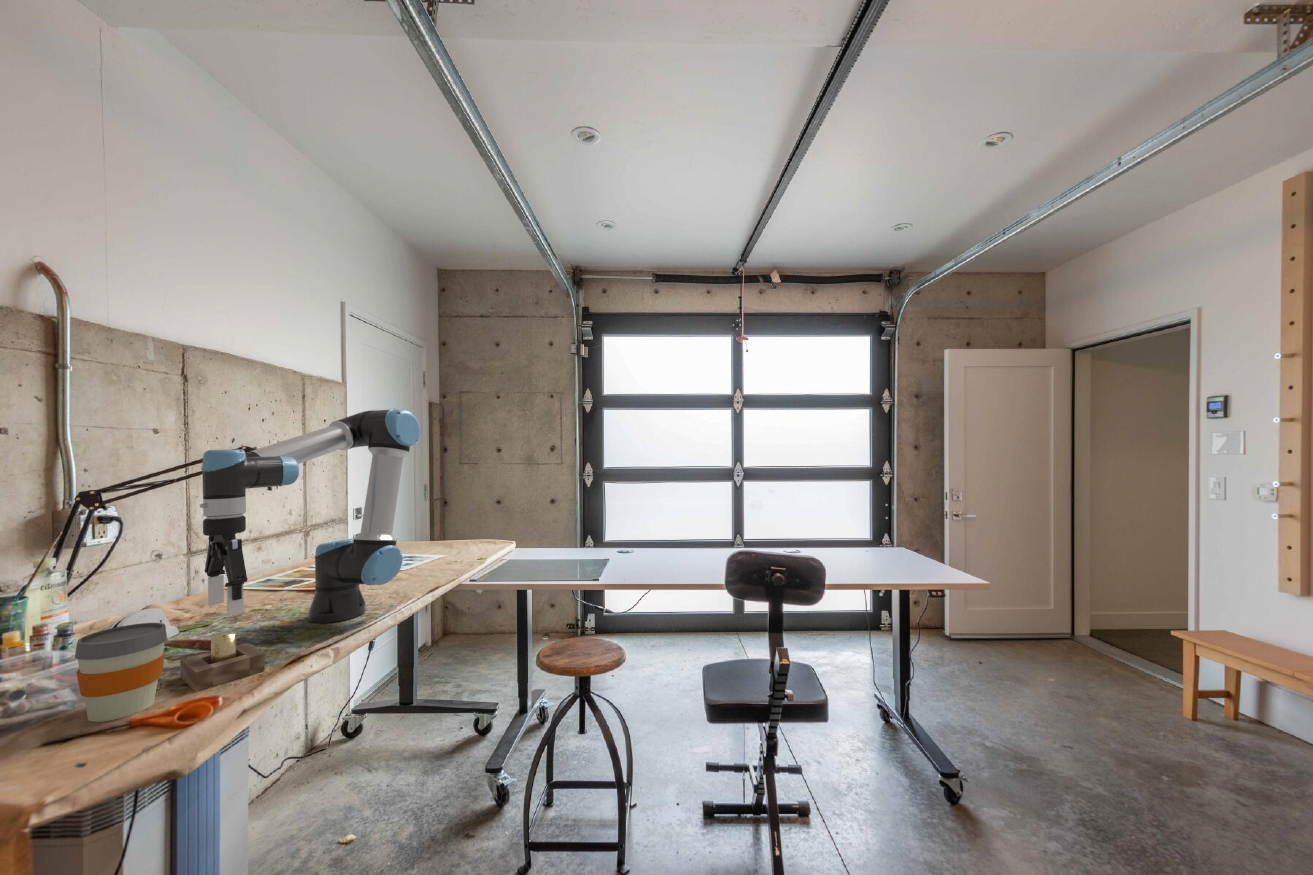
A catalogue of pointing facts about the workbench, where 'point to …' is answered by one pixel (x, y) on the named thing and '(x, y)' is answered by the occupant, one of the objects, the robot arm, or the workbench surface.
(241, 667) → the frame
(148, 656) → the reusable coffee cup
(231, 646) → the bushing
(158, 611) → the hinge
